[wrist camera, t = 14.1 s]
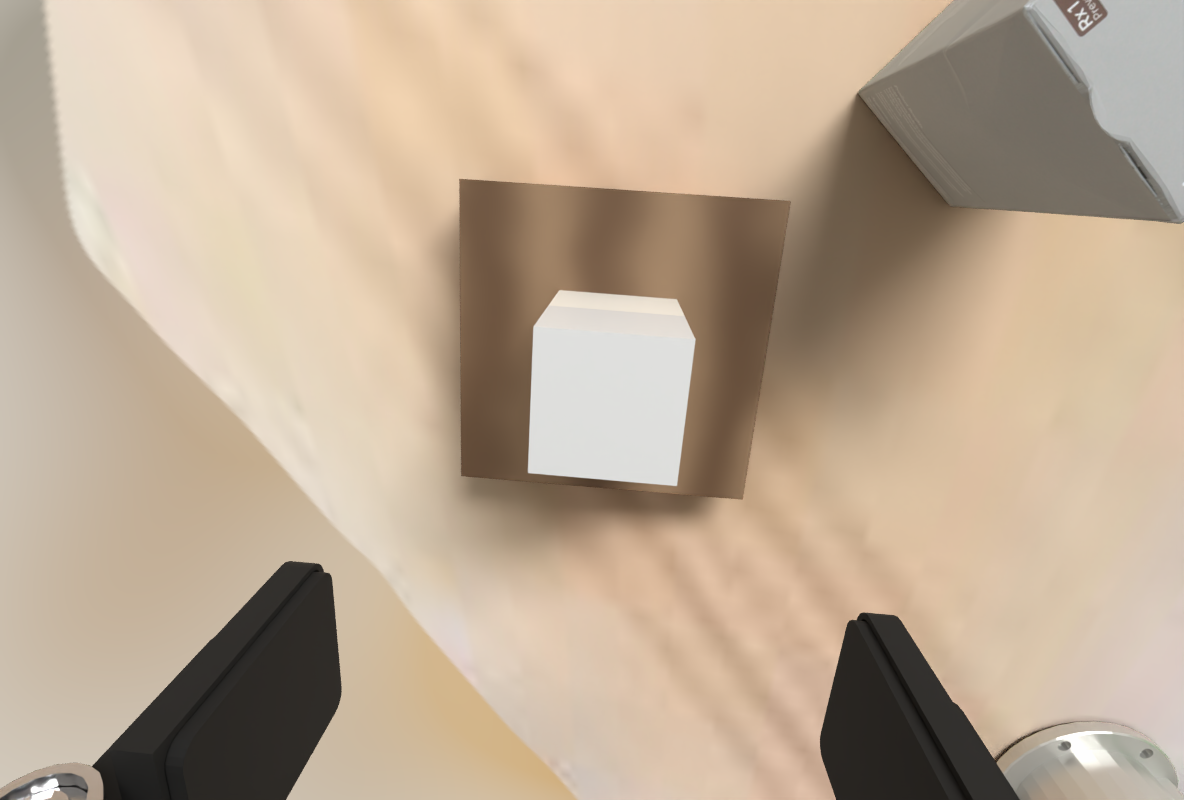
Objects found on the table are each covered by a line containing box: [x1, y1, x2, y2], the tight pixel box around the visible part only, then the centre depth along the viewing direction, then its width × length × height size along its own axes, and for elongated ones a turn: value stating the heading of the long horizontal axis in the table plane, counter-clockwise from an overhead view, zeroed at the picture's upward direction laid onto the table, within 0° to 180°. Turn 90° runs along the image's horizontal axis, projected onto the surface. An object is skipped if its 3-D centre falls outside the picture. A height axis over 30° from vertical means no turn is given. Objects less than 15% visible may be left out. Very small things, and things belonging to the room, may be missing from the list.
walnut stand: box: [459, 179, 791, 499], centre depth 34 cm, size 16×16×4 cm
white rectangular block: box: [528, 290, 696, 486], centre depth 28 cm, size 6×6×9 cm
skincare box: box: [858, 0, 1184, 224], centre depth 23 cm, size 8×7×16 cm
